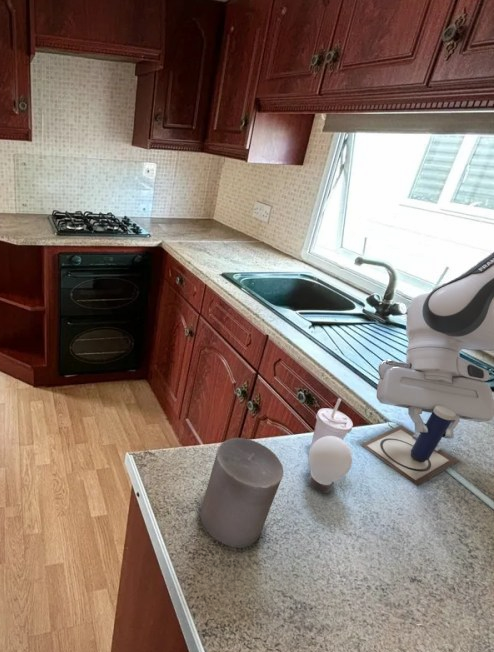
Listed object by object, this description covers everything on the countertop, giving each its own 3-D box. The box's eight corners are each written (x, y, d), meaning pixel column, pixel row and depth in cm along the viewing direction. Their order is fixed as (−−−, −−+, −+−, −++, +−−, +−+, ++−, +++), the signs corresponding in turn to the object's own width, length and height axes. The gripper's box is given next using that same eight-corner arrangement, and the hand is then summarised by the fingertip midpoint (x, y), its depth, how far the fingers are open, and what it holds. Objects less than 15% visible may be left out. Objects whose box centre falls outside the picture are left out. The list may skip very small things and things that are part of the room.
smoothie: (304, 439, 86) (326, 386, 79) (337, 453, 83) (362, 398, 77) (300, 458, 81) (322, 402, 74) (334, 473, 78) (361, 416, 72)
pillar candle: (238, 492, 71) (260, 427, 65) (272, 543, 63) (301, 473, 56) (189, 502, 68) (206, 435, 62) (218, 557, 60) (241, 485, 53)
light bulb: (344, 501, 72) (367, 455, 67) (308, 500, 71) (329, 453, 67) (325, 471, 78) (345, 427, 73) (292, 470, 77) (310, 426, 73)
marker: (430, 460, 82) (459, 413, 77) (422, 465, 81) (450, 418, 75) (413, 449, 85) (440, 403, 79) (405, 454, 83) (432, 407, 78)
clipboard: (457, 463, 84) (460, 459, 84) (416, 488, 77) (419, 484, 76) (400, 426, 93) (401, 423, 93) (358, 445, 86) (360, 441, 85)
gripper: (387, 354, 82) (386, 422, 78) (498, 373, 79) (503, 445, 75) (371, 361, 88) (369, 425, 84) (473, 380, 85) (477, 447, 81)
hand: (434, 435), depth 79 cm, fingers closed on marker, 3 cm apart
